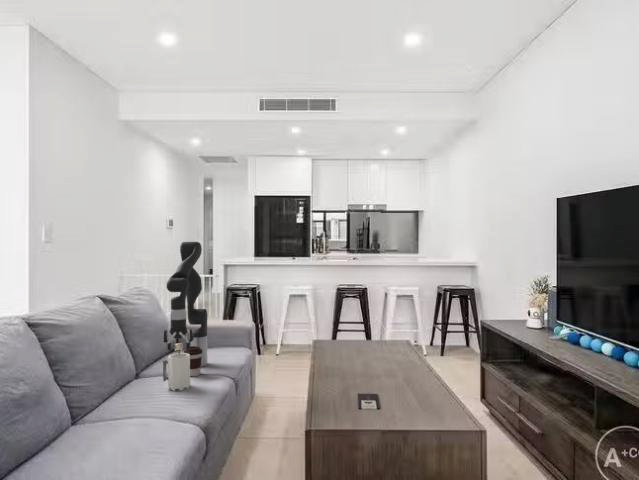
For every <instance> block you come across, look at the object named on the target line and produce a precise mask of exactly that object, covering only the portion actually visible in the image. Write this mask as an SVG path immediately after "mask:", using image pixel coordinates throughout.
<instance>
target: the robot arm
mask: <svg viewBox="0 0 639 480" xmlns="http://www.w3.org/2000/svg"><path fill="white" fill-rule="evenodd" d="M179 253H180V258H181V262H180V263H179V265H178V266H177V267H176V270H175V272H174V273H173V274H172V275H171V276H170V277H169V278H168V280H167V281H166V289H167V291H168V292H170V293H180V294H179V295H178V296H174V297H171V299H170V317H169V318H170V329H165V330H164V331H163V343H166V344H167V350H168V352H171V351H172V341H173V340H174V339H175V340H176V339H184V341H186V343H185V344H186V347H185V348H186V349H187V350H189V349H190V347H191V346H198V347H200V349H202V353H201V356H202V359H201V368H203V367H207V366H208V315H209V314H208V311H207V310H208V309H206V308H195V303H196V301H197V299H198V297H199V296H200V294H201V292H202V290H203V285H202V278H201V276H200V274H199V273H198V271H197V270H196V269H195V268H194V266H195V264H196V263H197V262H198V261H199V259H200V257H201V255H202V243H200V242H198V241H183V242H182V241H181V243H180V245H179ZM186 302H187V303H186ZM186 305H187V307H186ZM186 308H187V309H186ZM187 322H188V324H189V325H192V326H193V325H195V326H196V325H198V326H199V325H200V327H198V328H196V329H195V330H194V329H193V328H190V329H187ZM187 333H188V334H189V336H188V335H187ZM169 334H170V335H171V336H170V338H169V339H168V335H169Z"/></svg>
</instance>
